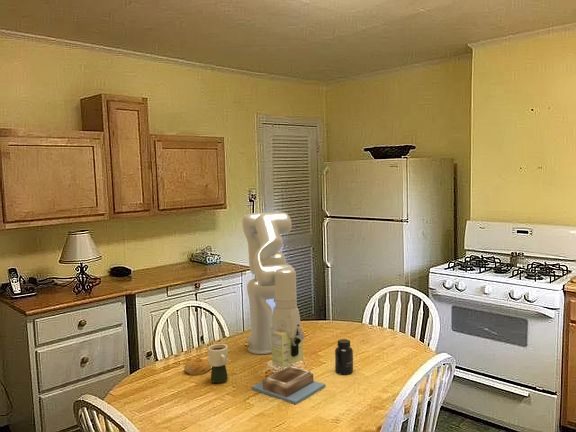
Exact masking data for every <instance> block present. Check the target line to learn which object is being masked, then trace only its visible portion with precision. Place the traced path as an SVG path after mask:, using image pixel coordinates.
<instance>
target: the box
mask: <svg viewBox="0 0 576 432" xmlns="http://www.w3.org/2000/svg"><path fill="white" fill-rule="evenodd" d="M301 330H302V331H303V327H302V326H301ZM298 338H299V336H298ZM294 339H295V338H294ZM303 340H304V339H303ZM303 340H302V341H301V342H300V344H298V346H299V354H298V355H297V356H295V357H292V354H291V346H292V345H293V344H292V341H291V339H290V338H287V333H286V332H282V331H277V330H275V331H271V344H272V353H271V364H272V365H275V366H276V367H279V368H282V369H284V368H286V367H288V366H292V365H293V364H296V363H298V362H301V361H303V360H304V341H303ZM295 341H296V340H295Z"/></svg>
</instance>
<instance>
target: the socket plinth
mask: <svg viewBox="0 0 576 432" xmlns="http://www.w3.org/2000/svg"><path fill="white" fill-rule="evenodd" d="M262 381H263V389H264V390H267V391H270V392H273V393H276V394H279V395H282V396H285V397H288V396H290V395H292V394H294V393H295V392H297V391H299V390H301V389H302V388H304V387H306V386H308V385H309V384H311V383H313V382H314V381H315V380H314V373H312V372H311V371H310V370H307V369H302V368H299V367H296V366H292V365H288V366H286V367H283V368H282V369H280V370H279V371H276V372H274V373H272V374H270V375H268V376H265V379H264V380H262Z"/></svg>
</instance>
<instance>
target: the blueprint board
mask: <svg viewBox="0 0 576 432" xmlns="http://www.w3.org/2000/svg"><path fill="white" fill-rule="evenodd" d="M313 381H314V382H313V383H311V384H309V385H308V386H306V387H304V388H302V389H301V390H299V391H297V392H295V393H294V394H292V395H290V396H288V397H285V396H282V395H279V394H276V393H273V392H270V391H267V390H264V389H263V380H262V381H260V382H259V383H256V384H255V385H252V386H251V390H252V391H254V392H256V393H257V392H258V393H261V394H264V395H267V396H269V397H273V398H276V399H278V400H280V401H284V402H287V403H290V404H293V405H295V406H297V405H298V404H300V403H302V402H303V401H305V400H306V399H308V398H309V397H312V396H313V395H314V394H316V393H317V392H320V391H322V390H323V389H324V388H326V383H324V382H319V381H316V380H313Z"/></svg>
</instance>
